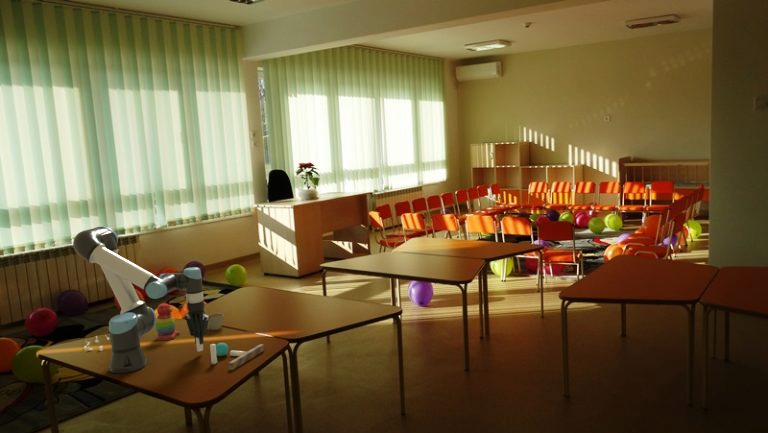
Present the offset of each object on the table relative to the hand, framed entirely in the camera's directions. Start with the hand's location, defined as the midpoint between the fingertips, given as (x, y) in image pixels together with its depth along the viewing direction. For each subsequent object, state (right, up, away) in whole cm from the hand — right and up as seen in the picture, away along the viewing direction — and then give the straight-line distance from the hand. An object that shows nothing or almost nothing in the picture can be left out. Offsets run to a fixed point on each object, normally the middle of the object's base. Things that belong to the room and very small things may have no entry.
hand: (200, 350), depth 271 cm
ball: (+11, +1, -3) cm, 11 cm away
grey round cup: (-4, +2, +40) cm, 40 cm away
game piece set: (-56, -3, +24) cm, 61 cm away
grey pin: (+10, -3, -12) cm, 16 cm away
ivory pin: (+15, 0, -4) cm, 16 cm away
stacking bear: (-27, 0, +30) cm, 40 cm away
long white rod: (+24, -2, -11) cm, 27 cm away
